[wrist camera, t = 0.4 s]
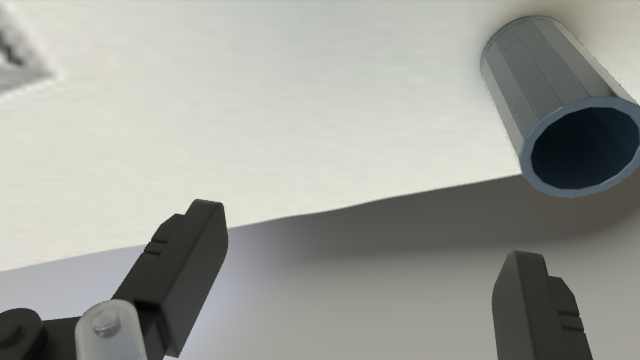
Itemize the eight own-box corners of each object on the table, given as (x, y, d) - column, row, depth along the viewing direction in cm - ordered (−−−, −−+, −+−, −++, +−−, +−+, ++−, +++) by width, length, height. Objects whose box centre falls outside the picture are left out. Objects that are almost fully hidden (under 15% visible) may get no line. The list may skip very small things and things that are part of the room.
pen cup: (513, 1, 28) (573, 77, 20) (592, 36, 29) (683, 124, 21) (463, 80, 32) (496, 174, 23) (535, 109, 33) (592, 211, 24)
